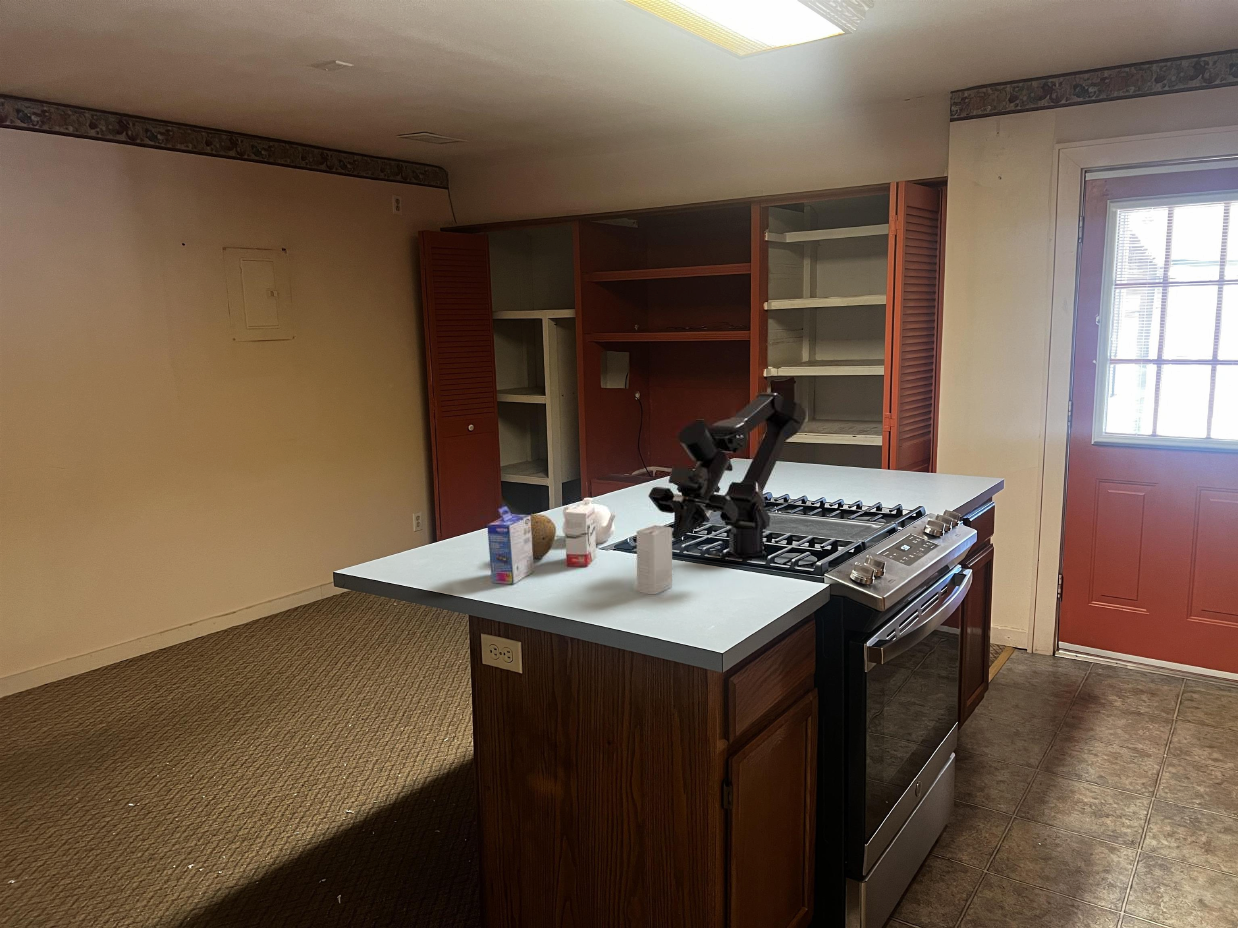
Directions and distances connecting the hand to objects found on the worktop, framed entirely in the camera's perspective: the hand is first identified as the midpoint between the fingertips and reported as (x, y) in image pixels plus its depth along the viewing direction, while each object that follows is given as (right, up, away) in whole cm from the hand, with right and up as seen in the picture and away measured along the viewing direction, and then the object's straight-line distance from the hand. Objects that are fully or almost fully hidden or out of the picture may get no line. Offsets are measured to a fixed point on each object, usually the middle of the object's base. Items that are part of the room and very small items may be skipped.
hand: (675, 538), depth 171 cm
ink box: (-19, -7, +18) cm, 27 cm away
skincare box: (-4, -10, -4) cm, 11 cm away
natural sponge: (-29, -6, +21) cm, 37 cm away
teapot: (-18, -4, +37) cm, 41 cm away
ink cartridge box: (-33, -9, +7) cm, 35 cm away
